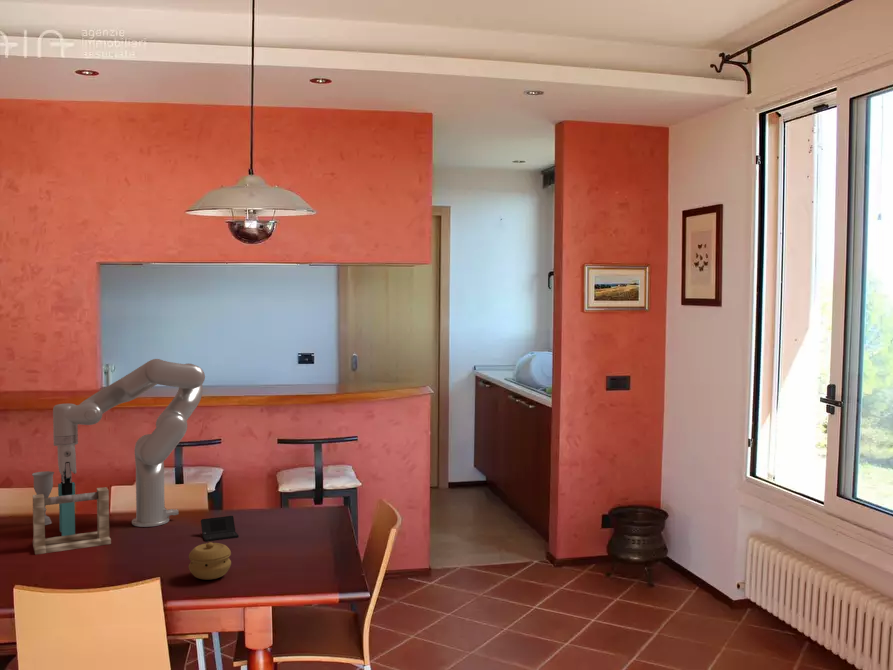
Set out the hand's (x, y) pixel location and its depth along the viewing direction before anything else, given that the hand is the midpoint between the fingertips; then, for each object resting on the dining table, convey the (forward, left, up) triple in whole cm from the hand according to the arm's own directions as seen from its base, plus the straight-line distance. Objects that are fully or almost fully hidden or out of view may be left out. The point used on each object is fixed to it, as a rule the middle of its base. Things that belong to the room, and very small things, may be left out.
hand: (66, 493), depth 272 cm
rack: (0, +15, -14) cm, 20 cm away
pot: (-31, +69, -14) cm, 77 cm away
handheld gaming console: (-44, +30, -14) cm, 55 cm away
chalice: (+6, -17, -14) cm, 23 cm away
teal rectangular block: (0, 0, -14) cm, 14 cm away
